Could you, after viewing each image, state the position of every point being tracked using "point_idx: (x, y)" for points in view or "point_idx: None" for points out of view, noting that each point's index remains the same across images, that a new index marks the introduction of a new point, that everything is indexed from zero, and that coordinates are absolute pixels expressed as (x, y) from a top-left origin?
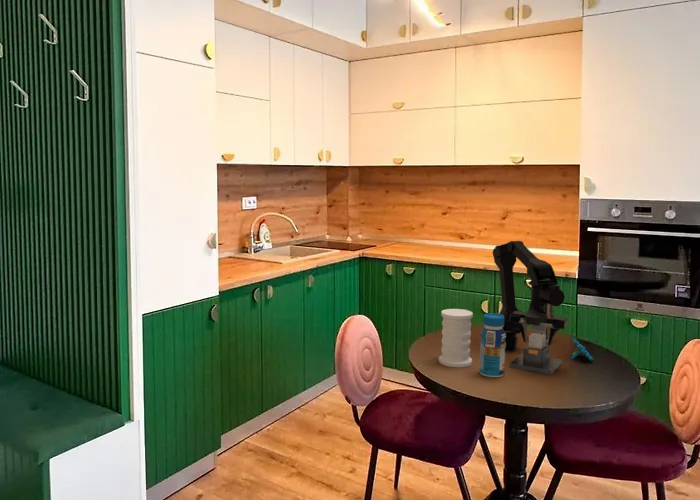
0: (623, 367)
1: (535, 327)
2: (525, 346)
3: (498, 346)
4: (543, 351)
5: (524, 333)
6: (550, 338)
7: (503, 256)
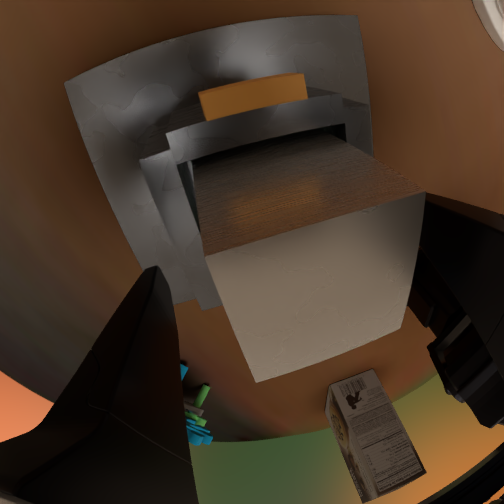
0: (40, 387)
1: (379, 412)
2: None
3: None
4: (157, 154)
5: (476, 228)
6: (115, 331)
7: None
